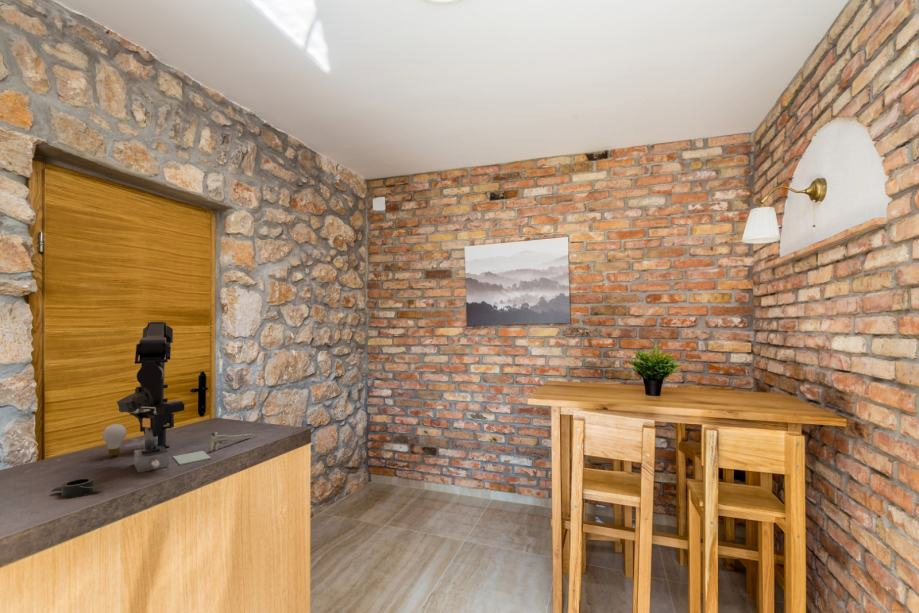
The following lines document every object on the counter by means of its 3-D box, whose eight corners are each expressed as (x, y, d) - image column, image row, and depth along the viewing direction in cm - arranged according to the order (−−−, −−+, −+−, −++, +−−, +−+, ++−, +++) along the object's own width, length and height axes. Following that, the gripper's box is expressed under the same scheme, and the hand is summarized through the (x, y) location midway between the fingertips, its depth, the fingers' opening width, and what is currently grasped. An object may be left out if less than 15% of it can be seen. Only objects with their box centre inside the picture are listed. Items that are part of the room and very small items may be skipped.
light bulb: (127, 456, 132) (128, 423, 133) (103, 460, 128) (104, 427, 128) (124, 452, 136) (124, 421, 137) (100, 456, 132) (101, 424, 132)
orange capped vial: (152, 446, 125) (152, 416, 125) (159, 447, 124) (160, 416, 125) (142, 449, 122) (142, 418, 123) (149, 450, 121) (150, 418, 122)
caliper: (210, 453, 135) (211, 433, 135) (208, 453, 135) (208, 433, 135) (257, 436, 155) (257, 419, 155) (254, 436, 155) (254, 419, 155)
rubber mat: (173, 457, 130) (173, 456, 130) (202, 452, 136) (202, 450, 136) (179, 465, 123) (179, 463, 123) (210, 459, 128) (210, 457, 128)
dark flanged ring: (89, 485, 109) (89, 473, 109) (106, 492, 104) (106, 480, 104) (48, 495, 103) (49, 483, 103) (64, 504, 97) (65, 491, 98)
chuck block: (133, 464, 124) (134, 450, 125) (162, 458, 129) (162, 445, 129) (140, 476, 114) (140, 461, 114) (171, 470, 119) (171, 455, 119)
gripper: (99, 385, 119) (98, 441, 118) (148, 387, 114) (147, 446, 113) (139, 380, 130) (138, 431, 129) (186, 381, 124) (185, 435, 124)
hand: (151, 436), depth 123 cm, fingers closed on orange capped vial, 3 cm apart
